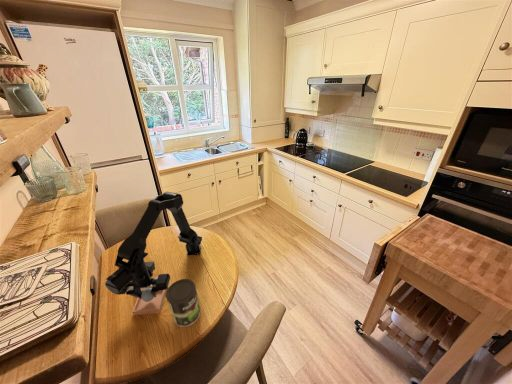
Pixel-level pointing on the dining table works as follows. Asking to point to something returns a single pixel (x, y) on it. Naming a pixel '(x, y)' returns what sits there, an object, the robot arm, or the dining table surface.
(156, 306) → the dish
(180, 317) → the coffee can
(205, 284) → the dining table surface
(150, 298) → the ball
